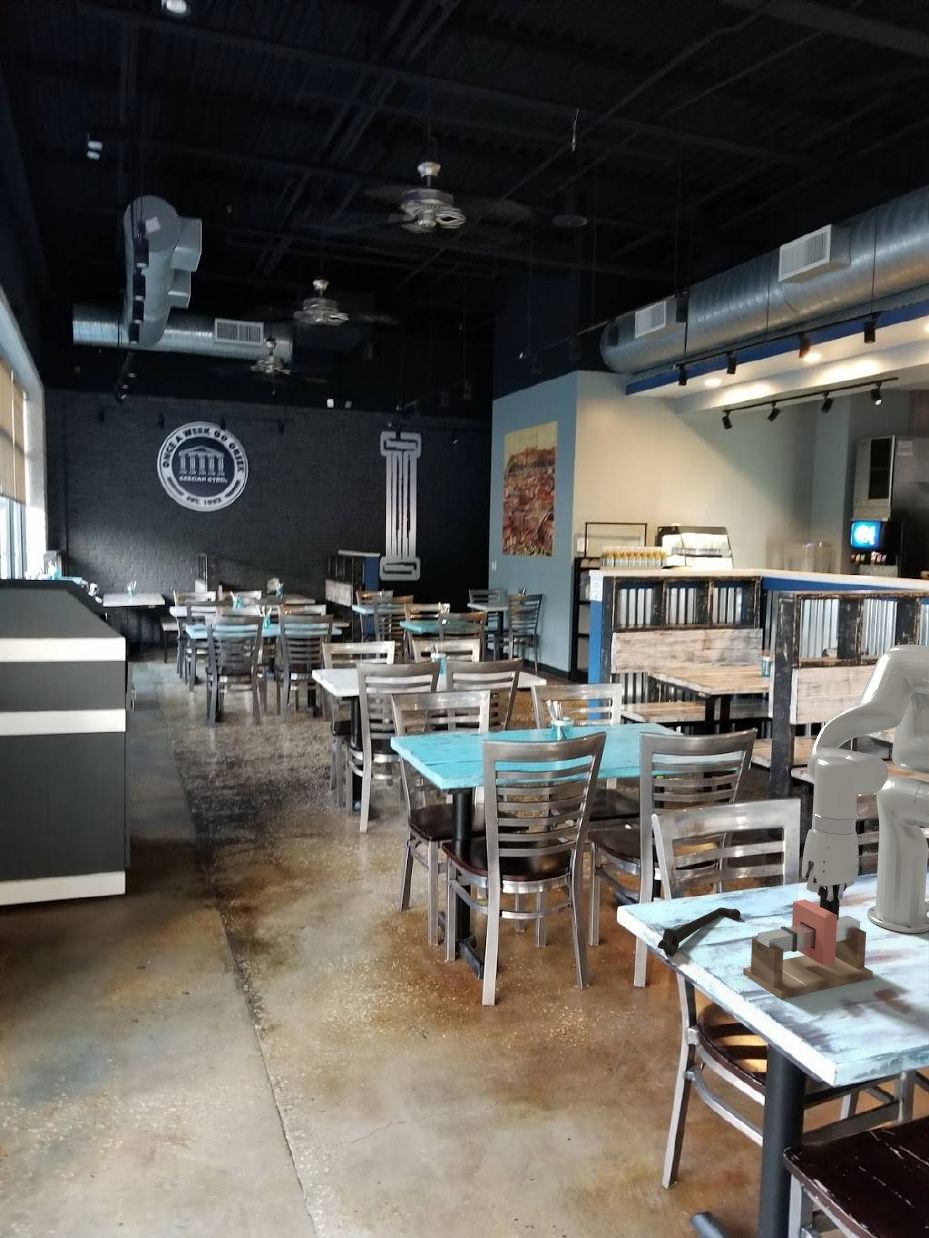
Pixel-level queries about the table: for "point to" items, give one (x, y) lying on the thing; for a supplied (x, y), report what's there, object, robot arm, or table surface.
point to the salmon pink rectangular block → (817, 930)
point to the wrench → (692, 929)
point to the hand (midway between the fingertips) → (828, 918)
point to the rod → (804, 935)
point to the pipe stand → (808, 968)
